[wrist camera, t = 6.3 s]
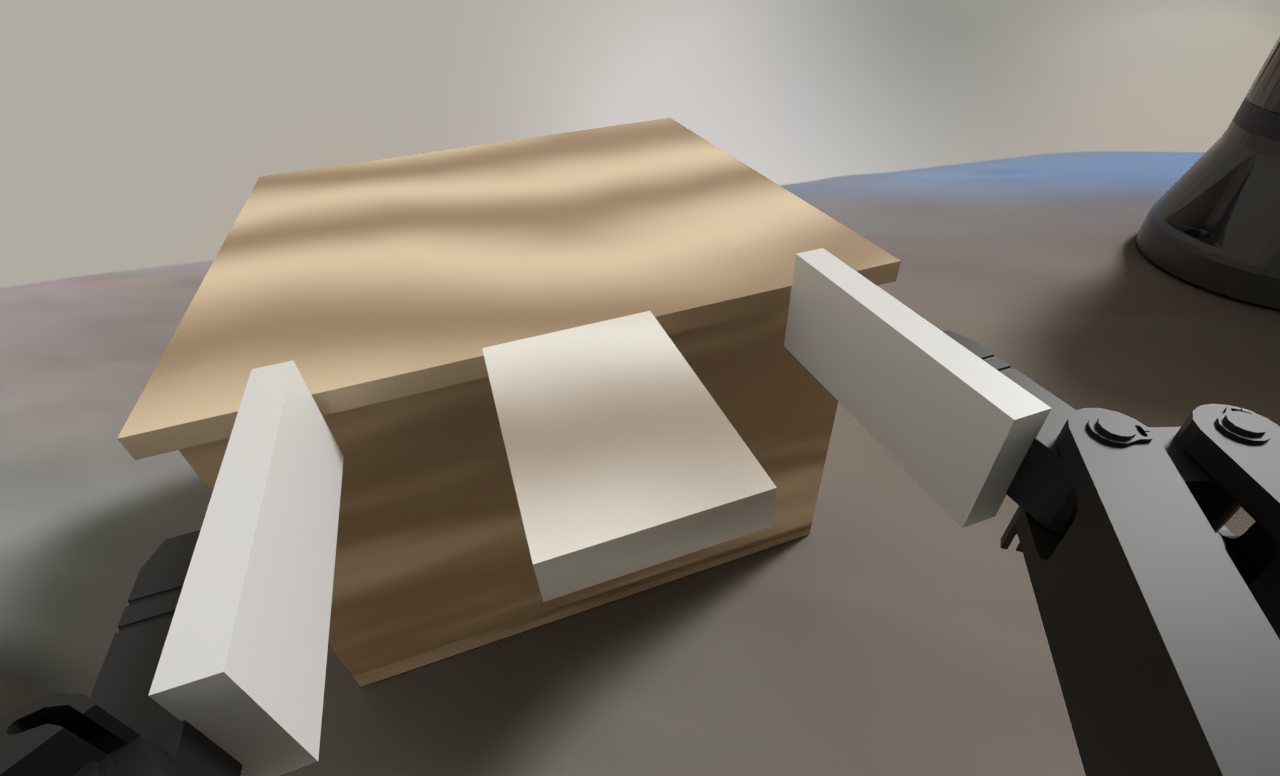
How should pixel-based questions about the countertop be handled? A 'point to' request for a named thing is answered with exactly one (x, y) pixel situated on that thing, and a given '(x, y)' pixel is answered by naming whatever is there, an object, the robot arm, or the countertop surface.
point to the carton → (489, 511)
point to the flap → (518, 322)
